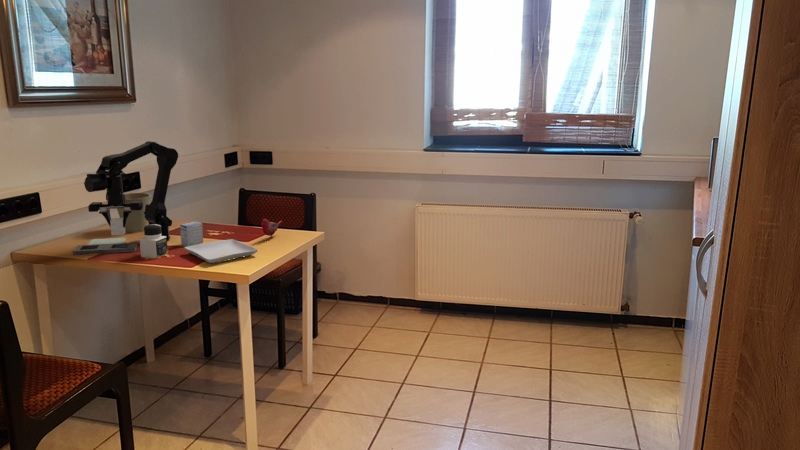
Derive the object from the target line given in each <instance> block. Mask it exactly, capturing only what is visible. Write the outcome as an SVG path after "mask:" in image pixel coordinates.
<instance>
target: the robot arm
mask: <svg viewBox="0 0 800 450" xmlns="http://www.w3.org/2000/svg"><path fill="white" fill-rule="evenodd" d="M149 154H152V155H154V156H155V157H156V164H157V166H158V170H157V174H156V180H155V185H154V188H153V194H152V200H151V201H150V204H149V205H148V204H146V206H145V212H144V214H145V218H146V220H147V223H148V225H151V224H156V225H160V226H161V236H166V237H167V242H168V241H170V239H171V236H170V227H172V225H173V220H172V219H170V218H169V217H168V216H167V213H168V210H167V207H166V203H165V202H166V197H167V192H168V187H169V181H170V177H171V172H172V170H173V168H174V167H175V166H176V164H177V162H178V159H179V153H178V151H177V149H176V148H170V147H167V146H164V145H161V144H159V143H158V142H155V141H149V140H148V141H146V142H144V143H142V144H140V145H138V146H135V147H133V148H131V149H128V150H127V151H124V152H120V153H114V154H109V155H105V156H103V157H102V158H101V163H100V165H99V166H98V168H97V170H96V172H95V173H86V177H85V178H84V183H83V184H84V188H85V190H86V192H87V193H92V192H95V193H96V192H100V191H106V193H105V200H106V201H107V203H103V202H102V201H93V202H91V203H90V204H89V205H88V207H87V208H88V212H89V213H90V212H91V213H92V212H93V213H94V212H98V211H99V212H98V214H101V215H102V217H103V218H104V219H105V221H106V222H107V224H108V225H109V228H110V229H111V225H110V220H111V219H112V216H111V210H112V209H116V210H117V208H124V209H125V210H124V211H123V225H124V228H125V226H126V222H127V219H128V215H129V213H131V212H132V211H133V210H141V209H142V208H143V203H142V201H131V203H126V198H125V195H124V194H125V193H124V190H123V189H124V188H123V180H122V179H123V178H122V177H126V176H128V174H127V173H125V172H124V171H123V170H124V169H126V168H127V166H128V165H129V164H130V163H133V162H134V161H136V160H138V159H140V158H143V157H145V156H147V155H149ZM124 203H125V204H124Z"/></svg>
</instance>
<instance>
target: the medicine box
mask: <svg viewBox="0 0 800 450" xmlns="http://www.w3.org/2000/svg"><path fill="white" fill-rule="evenodd" d="M179 228H180V229H179V230H180V242H181V243H180V244H181V245H182V246H184V247H187V246H193V245H198V244H203V243H204V233H203V232H204V231H203V222H199V221H191V222H187V223H183V224H180V225H179Z"/></svg>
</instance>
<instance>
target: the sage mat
mask: <svg viewBox="0 0 800 450" xmlns="http://www.w3.org/2000/svg"><path fill="white" fill-rule="evenodd" d="M126 240H127V237H114V238H113V237H112V238H111V237H110V238H92V239H91V240H89V243H87V245H94V244H115V243H126V242H125V241H126Z"/></svg>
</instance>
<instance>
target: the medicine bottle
mask: <svg viewBox="0 0 800 450" xmlns="http://www.w3.org/2000/svg"><path fill="white" fill-rule="evenodd" d="M143 232H144V237H142V238H140V239H139V246H140V247H139V248H140V249H139V250H140V258H148V259H149V258H150V259H159V258H161V257H163V256H165V254H166V255H167V254H168V253H169V252H168V251H169V250H168V241H167V237H166V236H161V226H160V225H156V224H151V225H149V224H146V226H145V227H144V231H143Z"/></svg>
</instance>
